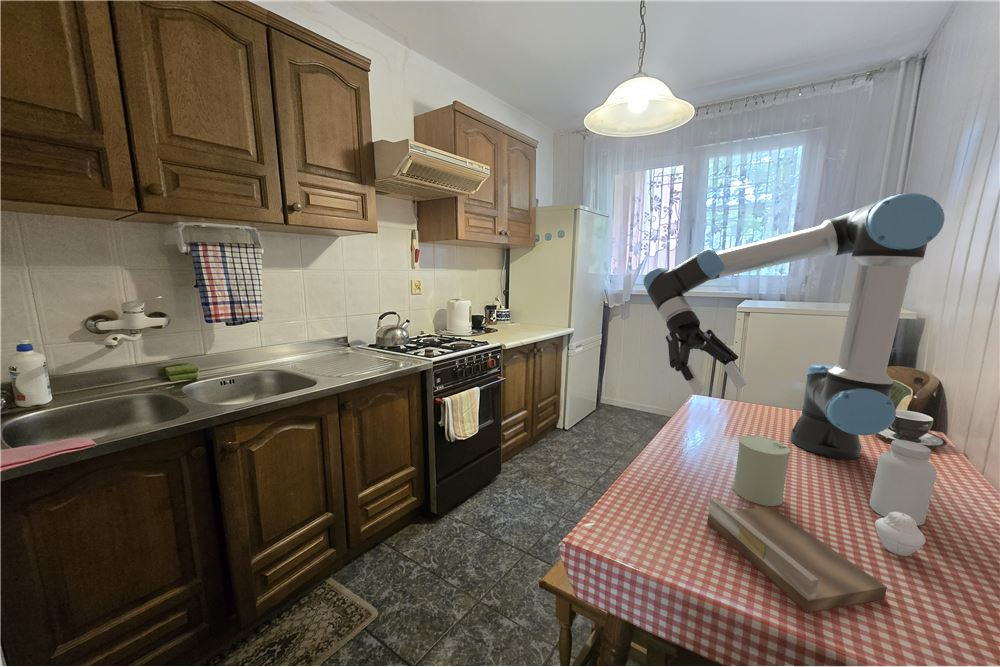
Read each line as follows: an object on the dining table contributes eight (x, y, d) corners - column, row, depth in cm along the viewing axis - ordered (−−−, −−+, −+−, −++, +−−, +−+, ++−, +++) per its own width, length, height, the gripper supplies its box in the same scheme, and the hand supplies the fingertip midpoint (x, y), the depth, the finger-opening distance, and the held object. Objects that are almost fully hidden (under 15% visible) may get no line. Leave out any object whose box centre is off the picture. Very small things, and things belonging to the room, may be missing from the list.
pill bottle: (916, 532, 73) (932, 458, 70) (861, 508, 80) (874, 440, 77) (932, 520, 76) (948, 449, 74) (878, 498, 83) (891, 433, 81)
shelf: (769, 515, 77) (772, 491, 76) (884, 598, 58) (890, 567, 57) (706, 522, 74) (709, 498, 74) (804, 613, 55) (810, 581, 54)
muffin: (925, 553, 67) (933, 517, 66) (916, 568, 64) (924, 529, 63) (877, 533, 72) (884, 499, 71) (866, 545, 69) (873, 509, 68)
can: (792, 509, 79) (800, 454, 77) (742, 503, 81) (749, 449, 79) (770, 484, 88) (777, 435, 86) (726, 480, 90) (732, 431, 88)
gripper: (704, 325, 110) (747, 392, 99) (633, 327, 101) (671, 401, 90) (723, 308, 104) (770, 377, 93) (649, 309, 95) (692, 386, 84)
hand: (721, 389), depth 91 cm, fingers open, 13 cm apart
